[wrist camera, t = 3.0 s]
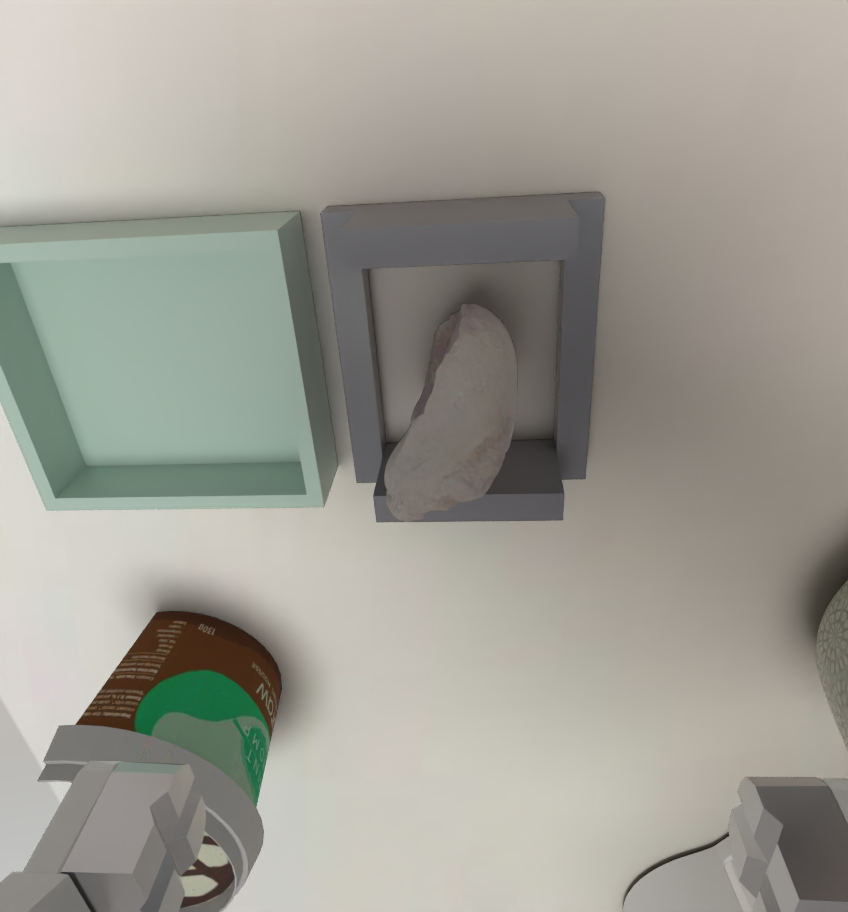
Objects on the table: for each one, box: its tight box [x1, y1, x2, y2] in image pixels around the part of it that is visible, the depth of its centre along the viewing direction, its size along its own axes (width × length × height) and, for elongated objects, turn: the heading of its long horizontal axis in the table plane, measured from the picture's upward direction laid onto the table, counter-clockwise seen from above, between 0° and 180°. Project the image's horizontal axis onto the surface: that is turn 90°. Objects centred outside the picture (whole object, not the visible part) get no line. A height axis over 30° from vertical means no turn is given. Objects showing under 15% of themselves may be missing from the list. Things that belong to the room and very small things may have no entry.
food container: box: [37, 611, 282, 912], centre depth 32 cm, size 12×6×10 cm, turn 14°
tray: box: [0, 211, 338, 511], centre depth 26 cm, size 12×11×3 cm
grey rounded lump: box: [384, 303, 518, 522], centre depth 22 cm, size 6×4×10 cm, turn 157°
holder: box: [320, 192, 605, 522], centre depth 24 cm, size 9×11×4 cm
